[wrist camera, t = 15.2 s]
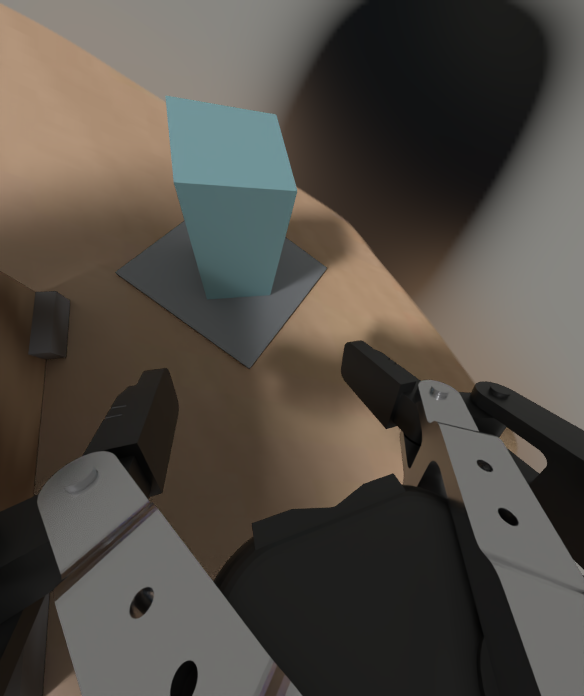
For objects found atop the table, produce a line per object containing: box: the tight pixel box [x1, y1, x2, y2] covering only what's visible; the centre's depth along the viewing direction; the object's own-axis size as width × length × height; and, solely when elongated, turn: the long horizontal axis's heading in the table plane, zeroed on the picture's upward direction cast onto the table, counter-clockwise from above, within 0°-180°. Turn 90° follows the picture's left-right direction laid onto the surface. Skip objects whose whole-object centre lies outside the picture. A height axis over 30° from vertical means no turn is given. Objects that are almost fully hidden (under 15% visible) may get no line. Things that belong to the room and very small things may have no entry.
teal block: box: [166, 96, 297, 299], centre depth 14 cm, size 5×5×9 cm
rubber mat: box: [115, 221, 327, 369], centre depth 18 cm, size 12×12×1 cm
